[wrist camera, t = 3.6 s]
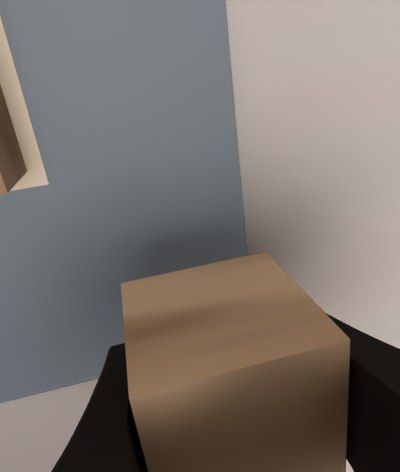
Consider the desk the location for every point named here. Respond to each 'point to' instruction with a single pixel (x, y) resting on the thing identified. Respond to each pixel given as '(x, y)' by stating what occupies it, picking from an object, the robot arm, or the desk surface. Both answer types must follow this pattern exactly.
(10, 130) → the walnut slab
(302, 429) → the oak cube
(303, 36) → the desk surface
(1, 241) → the board
